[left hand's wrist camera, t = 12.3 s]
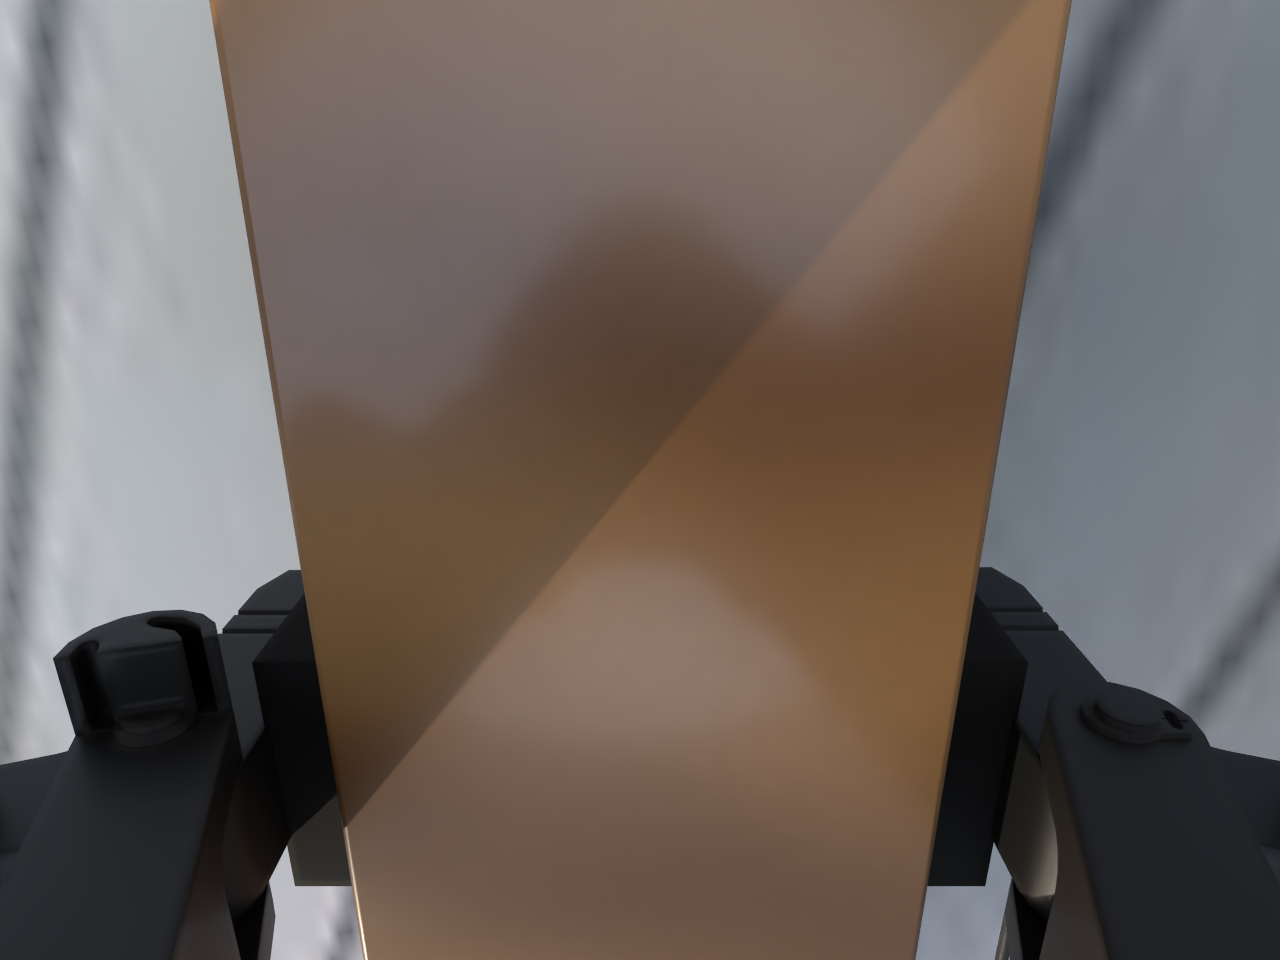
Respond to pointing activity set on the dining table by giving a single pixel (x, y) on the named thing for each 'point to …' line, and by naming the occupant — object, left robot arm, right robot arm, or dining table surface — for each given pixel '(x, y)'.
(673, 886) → the beam
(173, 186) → the dining table surface
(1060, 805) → the left robot arm
